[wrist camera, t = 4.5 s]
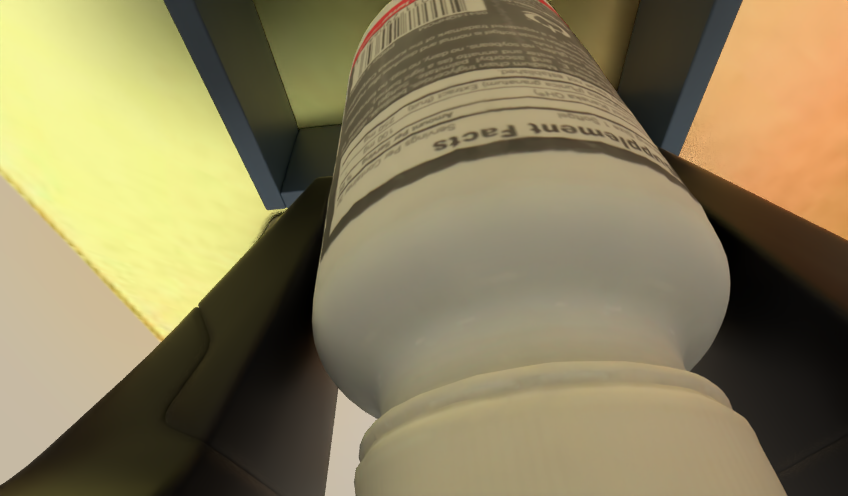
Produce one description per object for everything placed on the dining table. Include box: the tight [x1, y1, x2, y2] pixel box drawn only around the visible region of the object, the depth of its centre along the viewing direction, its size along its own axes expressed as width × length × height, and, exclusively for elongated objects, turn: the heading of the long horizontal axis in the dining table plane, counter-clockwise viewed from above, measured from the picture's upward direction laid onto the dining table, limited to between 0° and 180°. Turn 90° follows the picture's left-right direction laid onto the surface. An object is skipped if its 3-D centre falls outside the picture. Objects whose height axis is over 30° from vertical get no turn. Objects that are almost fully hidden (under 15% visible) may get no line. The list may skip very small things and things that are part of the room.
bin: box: [164, 0, 743, 210], centre depth 14 cm, size 10×16×4 cm, turn 95°
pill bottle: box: [312, 0, 787, 496], centre depth 7 cm, size 5×5×10 cm
